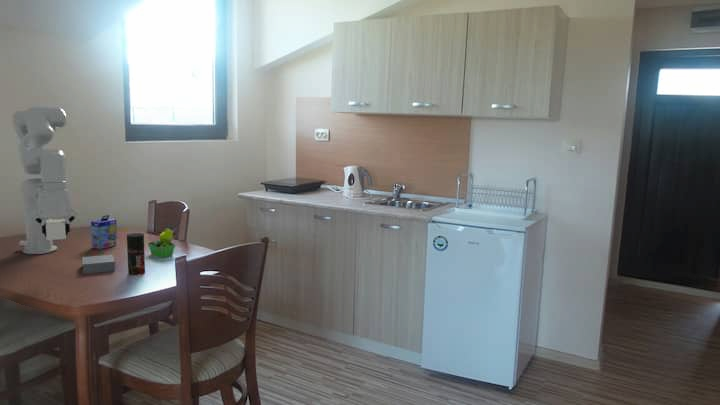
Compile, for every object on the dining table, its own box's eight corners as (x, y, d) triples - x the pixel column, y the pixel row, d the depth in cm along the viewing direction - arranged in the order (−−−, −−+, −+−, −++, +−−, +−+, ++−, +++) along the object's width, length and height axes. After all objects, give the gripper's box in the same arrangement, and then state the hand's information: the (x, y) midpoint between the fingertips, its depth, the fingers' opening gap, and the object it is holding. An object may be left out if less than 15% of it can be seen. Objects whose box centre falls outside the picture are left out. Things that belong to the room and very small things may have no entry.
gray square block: (83, 274, 199) (82, 264, 198) (82, 267, 208) (82, 257, 207) (115, 271, 204) (114, 261, 203) (113, 264, 213) (112, 254, 213)
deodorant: (134, 276, 197) (133, 237, 195) (124, 273, 200) (123, 235, 198) (148, 272, 202) (147, 234, 200) (138, 269, 205) (137, 232, 203)
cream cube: (46, 240, 189) (45, 223, 188) (47, 236, 195) (46, 220, 194) (65, 238, 192) (64, 222, 191) (66, 235, 197) (65, 219, 196)
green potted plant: (147, 254, 229) (146, 228, 227) (166, 250, 235) (165, 226, 233) (159, 259, 221) (158, 233, 219) (179, 255, 227) (178, 230, 226)
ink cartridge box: (100, 249, 233) (98, 217, 231) (91, 248, 235) (89, 216, 233) (118, 244, 242) (116, 214, 240) (109, 243, 244) (107, 212, 242)
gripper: (24, 188, 183) (27, 238, 186) (80, 187, 191) (83, 235, 194) (26, 185, 189) (29, 234, 192) (80, 184, 197) (82, 230, 200)
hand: (56, 234), depth 193 cm, fingers closed on cream cube, 6 cm apart
